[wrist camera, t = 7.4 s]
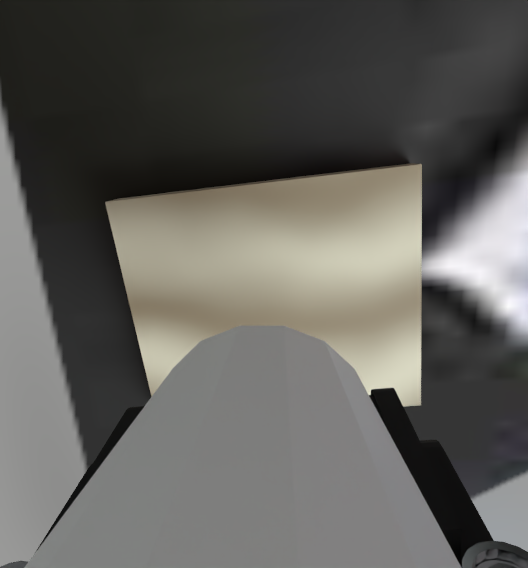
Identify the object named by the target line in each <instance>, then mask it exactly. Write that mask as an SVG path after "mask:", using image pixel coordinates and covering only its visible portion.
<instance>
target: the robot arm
mask: <svg viewBox="0 0 528 568" xmlns="http://www.w3.org/2000/svg"><path fill="white" fill-rule="evenodd" d="M369 397H370V398H371V400H372V402H373V404H374V406H375V408H376V410H377V412H378V413H379V415H380V417H381V419H382V421H383V423H384V425H385V426H386V428H387V430H388V432H389V434H390V436H391V438H392V439H393V441H394V443H395V445H396V447H397V449H398V451H399V452H400V454H401V456H402V458H403V460H404V462H405V464H406V465H407V467H408V469H409V471H410V473H411V475H412V477H413V478H414V480H415V482H416V484H417V486H418V488H419V490H420V491H421V493H422V495H423V497H424V499H425V501H426V503H427V504H428V506H429V508H430V510H431V512H432V514H433V516H434V518H435V519H436V521H437V523H438V525H439V527H440V529H441V531H442V532H443V534H444V536H445V538H446V540H447V542H448V544H449V545H450V547H451V549H452V551H453V553H454V555H455V557H456V558H457V560H458V562H459V564H460V566H461V568H528V552H527V551H525V550H523V549H521V548H519V547H517V546H514V545H511V544H508V543H505V542H498V541H493V539H492V537H491V535H490V533H489V531H488V530H487V528H486V526H485V524H484V522H483V520H482V519H481V517H480V515H479V513H478V511H477V510H476V508H475V506H474V504H473V502H472V500H471V499H470V497H469V495H468V493H467V491H466V489H465V488H464V486H463V484H462V482H461V480H460V479H459V477H458V475H457V473H456V471H455V469H454V468H453V466H452V464H451V462H450V460H449V459H448V457H447V455H446V453H445V451H444V449H443V448H442V446H441V444H440V443H439V442H438V441H437V440H425V441H419V439H418V436H417V434H416V432H415V430H414V428H413V426H412V424H411V422H410V420H409V418H408V416H407V414H406V412H405V409H404V407H403V405H402V403H401V401H400V399H399V397H398V395H397V393H396V391H395V389H394V388H382V389H372V390H371V395H369ZM144 407H145V406H142V407H130V408H128V409H127V410H126V412H125V413H124V415H123V416H122V418H121V420H120V421H119V423H118V424H117V426H116V428H115V429H114V431H113V432H112V434H111V436H110V437H109V439H108V440H107V442H106V444H105V445H104V447H103V448H102V450H101V452H100V453H99V455H98V456H97V458H96V460H95V461H94V463H93V464H92V465H91V466H90V467H89V468H88V470H87V471H86V473H85V474H84V476H83V478H82V479H81V481H80V482H79V484H78V486H77V487H76V489H75V491H74V492H73V494H72V495H71V497H70V498H69V500H68V502H67V503H66V505H65V506H64V508H63V509H62V511H61V513H60V514H59V516H58V517H57V519H56V521H55V522H54V524H53V525H52V527H51V528H50V530H49V532H48V533H47V535H46V536H45V538H44V540H43V541H42V543H43V542H44V541H45V539H46V538H47V537H48V535H49V534H50V533H51V531H52V530H53V529H54V527H55V526H56V525H57V523H58V522H59V520H60V519H61V518H62V516H63V515H64V514H65V512H66V511H67V510H68V508H69V507H70V506H71V504H72V503H73V502H74V500H75V499H76V498H77V496H78V495H79V494H80V492H81V491H82V490H83V488H84V487H85V486H86V484H87V483H88V482H89V480H90V479H91V478H92V476H93V475H94V474H95V472H96V471H97V470H98V468H99V467H100V466H101V464H102V463H103V461H104V460H105V459H106V457H107V456H108V455H109V453H110V452H111V451H112V449H113V448H114V447H115V445H116V444H117V443H118V441H119V440H120V439H121V437H122V436H123V435H124V433H125V432H126V431H127V429H128V428H129V427H130V425H131V424H132V423H133V421H134V420H135V419H136V417H137V416H138V415H139V413H140V412H141V411H142V409H143V408H144ZM42 543H41V544H40V546H41V545H42ZM40 546H39V547H40ZM39 547H38V549H39ZM38 549H37V550H38ZM35 553H36V552H35ZM27 563H28V562H26V561H18V562H13V563H9V564H6V565H4V566H1V567H0V568H24V567H25V566H26V565H27Z"/></svg>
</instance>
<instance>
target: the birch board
mask: <svg viewBox="0 0 528 568" xmlns="http://www.w3.org/2000/svg"><path fill="white" fill-rule="evenodd" d="M105 204H106V208H107V212H108V217H109V221H110V225H111V229H112V233H113V238H114V242H115V246H116V250H117V254H118V258H119V263H120V267H121V271H122V275H123V279H124V283H125V288H126V292H127V296H128V300H129V304H130V309H131V313H132V317H133V321H134V325H135V329H136V334H137V338H138V342H139V346H140V350H141V354H142V359H143V363H144V367H145V371H146V375H147V380H148V384H149V388H150V392H151V396H153V394H154V393H155V392H156V390H157V389H158V388H159V386H160V385H161V384H162V382H163V381H164V380H165V378H166V377H167V376H168V374H169V373H170V372H171V370H172V369H173V368H174V367H175V366H176V365H177V364H178V363H179V362H180V361H181V360H182V359H183V358H184V357H185V356H186V355H187V354H188V353H189V352H190V351H191V350H192V349H193V348H194V347H195V346H196V345H197V344H198V343H199V342H200V341H202V340H204V339H207V338H209V337H212V336H215V335H217V334H220V333H222V332H225V331H227V330H230V329H233V328H235V327H238V326H286V327H289V328H291V329H294V330H297V331H299V332H302V333H305V334H307V335H310V336H313V337H315V338H318V339H320V340H323V341H325V342H326V343H327V344H328V345H329V346H330V347H332V348H333V349H334V350H335V351H336V352H337V353H338V354H339V355H340V356H341V357H342V358H343V359H344V360H346V361H347V362H348V363H349V364H350V365H351V366H352V367H353V368H354V369H355V371H356V372H357V374H358V376H359V378H360V380H361V382H362V384H363V385H364V387H365V389H366V391H367V393H368V395H371V390H372V389H382V388H394V389H395V391H396V393H397V395H398V397H399V399H400V401H401V403H402V405H403V406H416V405H421V235H422V164H412V163H410V164H402V165H394V166H385V167H377V168H369V169H360V170H352V171H344V172H335V173H327V174H319V175H311V176H302V177H294V178H286V179H277V180H269V181H261V182H252V183H244V184H236V185H227V186H219V187H211V188H203V189H194V190H186V191H178V192H169V193H161V194H153V195H144V196H136V197H128V198H119V199H115V200H111V201H107V202H105Z"/></svg>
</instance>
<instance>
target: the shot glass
mask: <svg viewBox="0 0 528 568" xmlns="http://www.w3.org/2000/svg"><path fill="white" fill-rule="evenodd" d="M24 568H461V566H460V564H459V562H458V560H457V558H456V557H455V555H454V553H453V551H452V549H451V547H450V545H449V544H448V542H447V540H446V538H445V536H444V534H443V532H442V531H441V529H440V527H439V525H438V523H437V521H436V519H435V518H434V516H433V514H432V512H431V510H430V508H429V506H428V504H427V503H426V501H425V499H424V497H423V495H422V493H421V491H420V490H419V488H418V486H417V484H416V482H415V480H414V478H413V477H412V475H411V473H410V471H409V469H408V467H407V465H406V464H405V462H404V460H403V458H402V456H401V454H400V452H399V451H398V449H397V447H396V445H395V443H394V441H393V439H392V438H391V436H390V434H389V432H388V430H387V428H386V426H385V425H384V423H383V421H382V419H381V417H380V415H379V413H378V412H377V410H376V408H375V406H374V404H373V402H372V400H371V398H370V397H369V395H368V393H367V391H366V389H365V387H364V385H363V384H362V382H361V380H360V378H359V376H358V374H357V372H356V371H355V369H354V368H353V367H352V366H351V365H350V364H349V363H348V362H347V361H346V360H344V359H343V358H342V357H341V356H340V355H339V354H338V353H337V352H336V351H335V350H334V349H333V348H332V347H330V346H329V345H328V344H327V343H326V342H325V341H323V340H320V339H318V338H315V337H313V336H310V335H307V334H305V333H302V332H299V331H297V330H294V329H291V328H289V327H286V326H238V327H235V328H233V329H230V330H227V331H225V332H222V333H220V334H217V335H215V336H212V337H209V338H207V339H204V340H202V341H200V342H199V343H198V344H197V345H196V346H195V347H194V348H193V349H192V350H191V351H190V352H189V353H188V354H187V355H186V356H185V357H184V358H183V359H182V360H181V361H180V362H179V363H178V364H177V365H176V366H175V367H174V368H173V369H172V370H171V372H170V373H169V374H168V376H167V377H166V378H165V380H164V381H163V382H162V384H161V385H160V386H159V388H158V389H157V390H156V392H155V393H154V394H153V396H152V397H151V398H150V400H149V401H148V402H147V404H146V405H145V407H144V408H143V409H142V411H141V412H140V413H139V415H138V416H137V417H136V419H135V420H134V421H133V423H132V424H131V425H130V427H129V428H128V429H127V431H126V432H125V433H124V435H123V436H122V437H121V439H120V440H119V441H118V443H117V444H116V445H115V447H114V448H113V449H112V451H111V452H110V453H109V455H108V456H107V457H106V459H105V460H104V461H103V463H102V464H101V466H100V467H99V468H98V470H97V471H96V472H95V474H94V475H93V476H92V478H91V479H90V480H89V482H88V483H87V484H86V486H85V487H84V488H83V490H82V491H81V492H80V494H79V495H78V496H77V498H76V499H75V500H74V502H73V503H72V504H71V506H70V507H69V508H68V510H67V511H66V512H65V514H64V515H63V516H62V518H61V519H60V520H59V522H58V523H57V525H56V526H55V527H54V529H53V530H52V531H51V533H50V534H49V535H48V537H47V538H46V539H45V541H44V542H43V543H42V545H41V546H40V547H39V549H38V550H37V551H36V553H35V554H34V555H33V557H32V558H31V560H30V561H29V562H28V563H27V565H26V566H25V567H24Z"/></svg>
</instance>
